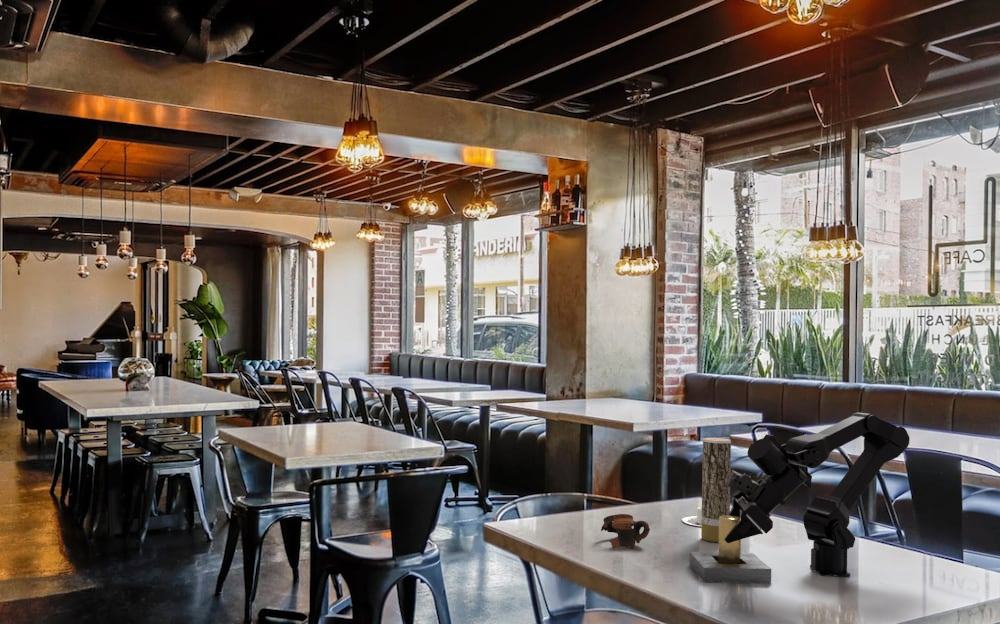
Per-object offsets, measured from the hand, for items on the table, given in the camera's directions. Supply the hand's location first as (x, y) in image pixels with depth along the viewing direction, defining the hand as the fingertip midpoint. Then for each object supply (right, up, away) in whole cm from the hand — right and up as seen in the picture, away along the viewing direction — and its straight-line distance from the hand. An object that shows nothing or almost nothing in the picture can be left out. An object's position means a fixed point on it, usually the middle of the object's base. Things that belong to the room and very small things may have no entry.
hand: (723, 535), depth 176 cm
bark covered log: (+6, -9, +29) cm, 31 cm away
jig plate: (+1, -8, 0) cm, 8 cm away
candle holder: (+8, -10, +47) cm, 48 cm away
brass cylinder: (+1, -8, 0) cm, 8 cm away
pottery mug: (-18, -8, +23) cm, 30 cm away
